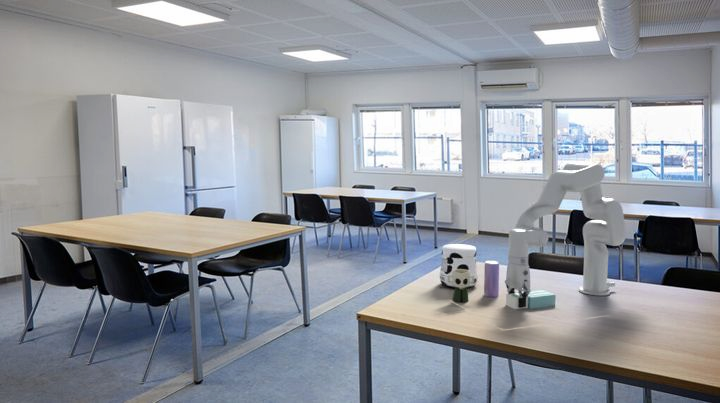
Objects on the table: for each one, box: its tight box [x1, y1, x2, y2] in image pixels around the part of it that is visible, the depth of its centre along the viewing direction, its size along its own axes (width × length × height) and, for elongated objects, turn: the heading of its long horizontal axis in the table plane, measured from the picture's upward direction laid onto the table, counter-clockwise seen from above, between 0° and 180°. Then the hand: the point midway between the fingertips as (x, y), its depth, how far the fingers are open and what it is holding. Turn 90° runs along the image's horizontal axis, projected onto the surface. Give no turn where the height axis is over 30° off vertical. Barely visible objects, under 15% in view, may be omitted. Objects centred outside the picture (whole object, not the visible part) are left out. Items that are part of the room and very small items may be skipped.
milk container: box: [439, 243, 479, 289], centre depth 246 cm, size 17×17×18 cm
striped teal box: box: [517, 288, 556, 309], centre depth 216 cm, size 12×8×5 cm, turn 109°
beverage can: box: [483, 260, 500, 298], centre depth 228 cm, size 6×6×15 cm
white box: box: [505, 292, 529, 310], centre depth 213 cm, size 6×6×5 cm
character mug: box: [448, 269, 474, 303], centre depth 221 cm, size 11×7×13 cm, turn 86°
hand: (516, 304), depth 213 cm, fingers closed on white box, 6 cm apart
